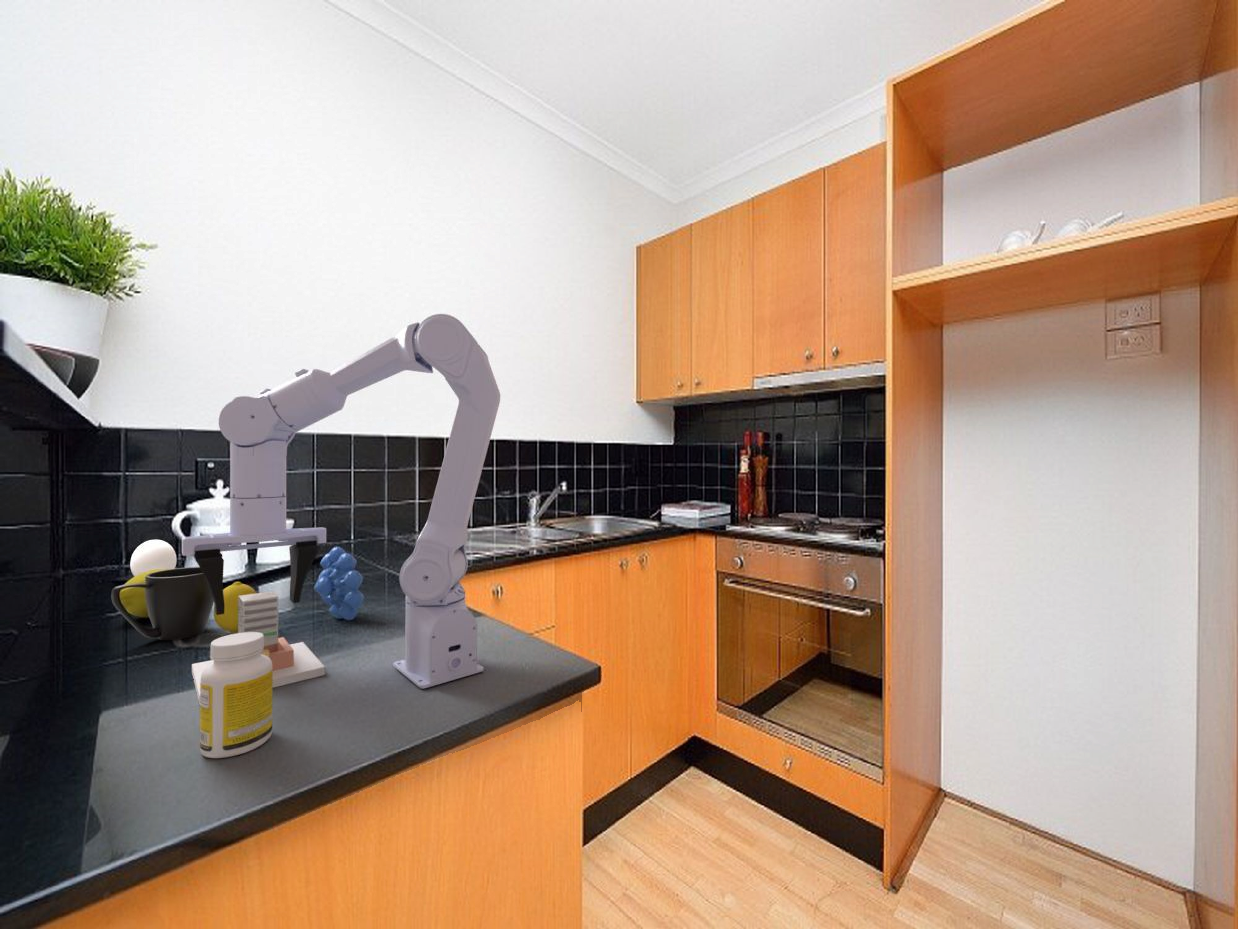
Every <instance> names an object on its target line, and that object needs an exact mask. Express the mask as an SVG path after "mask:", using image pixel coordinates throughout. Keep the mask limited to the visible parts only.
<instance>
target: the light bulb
mask: <svg viewBox="0 0 1238 929" xmlns="http://www.w3.org/2000/svg"><path fill="white" fill-rule="evenodd" d="M177 560H178V559H177V554H176V551H175V549H174V548H173V546H172V545H171V544H169V543H168V542H166V541H164V540H161V539H150V540H146V541H144V542H143V543H141V544H140V545H138V546H137V547H136V548H135V550H134V551H133V553H132V554H131V558H130V562H129V563H130V564H129V566H130V570H131V573H132V575H133V577H135V576H137V575H139V574H142V573H144V572H148V571H152V570H158V569H176V565H177Z"/></svg>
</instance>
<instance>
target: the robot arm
mask: <svg viewBox="0 0 1238 929" xmlns="http://www.w3.org/2000/svg"><path fill="white" fill-rule="evenodd" d="M433 368H434V369H435V370H436V371H438V373H440V374H441V375H442V376H443V377H444V380H445V381H446V383H447V384H448V385H449V388H451V390H452V391H453V392H454V394H455V395H456V397H457V399H458V403H457V407H456V411H455V415H454V418H453V421H452V426H451V430H450V433H449V437H448V440H447V445H446V449H445V451H444V452H445V453H444V457H443V461H442V464H441V468H440V470H439V476H438V479H437V484H436V486H435V489H434V494H433V497H432V501H431V506H430V510H429V513H428V517H427V520H426V523H425V525H424V527H423V528H422V530H421V532H420V534H419V536H418V538H417V540H416V543H415V547H414V549H413V552H412V553H411V554H410V556H409V557H408V558H407V559H406V560H405V561H404V563H403V564H402V566H401V568H400V571H399V577H398V578H399V579H398V580H399V584H400V588H401V590H402V592H403V594H404V595H405V609H404V610H405V614H404V615H405V616H404V617H405V624H404V626H405V627H404V631H405V633H404V635H405V636H404V637H405V638H404V641H405V642H404V644H405V645H404V648H405V649H404V650H405V651H404V654H405V655H404V658H405V659H400V660H397V661H395V662H393V664H392V665H393V667H394V668H395V669H396V670H397V671H399V672H400V673H401V674H402V675H403V676H405V677H406V678H408V680H410V681H411V682H412V683H413V684H414V685H416V687H418V688H420V689H427V688H431V687H434V686H438V685H441V684H445V683H448V682H450V681H455V680H458V679H461V678H464V677H468V676H472V675H475V674H478V673H482V672H483V671H484V666H483V665H481V664H479V663H478V624H477V620H476V618H475V615H474V614H473V613H472V612H471V611H470V610H469V608H468V607H467V605H466V604H467V603H466V590H465V589H464V587H463V585H462V583H461V580H462V579H464V577H465V575H466V573H467V570H468V566H469V565H468V564H469V563H468V557H467V552H466V548H467V543H468V538H469V537H468V536H469V535H468V526H469V520H470V517H471V513H472V509H473V506H474V502H475V498H476V494H477V491H478V486H479V483H480V479H481V476H482V472H483V471H482V470H483V467H484V463H485V460H486V456H487V453H488V448H489V445H490V441H491V438H492V437H491V436H492V434H493V433H492V432H493V430H494V425H495V423H496V422H495V421H496V418H497V414H498V412H499V411H498V410H499V407H500V403H501V392H500V390H499V387H498V384H497V380H496V378H495V375H494V372H493V371H492V366H491V364H490V361H489V356H488V355H487V353H486V352H485V350H484V349H483V348H482V347H481V345H480V343H478V341H477V340H476V338H475V337H474V335H472V333H471V332H470V331H469V330H468V328H467V327H466V326H465V324H464V323H463V322H461V321H460V320H459V319H458V318H456V317H455V316H452V315H450V314H447V313H446V314H445V313H436V314H433V315H430V316H428V317H426V318H425V319H424V320H422V321H421V323H420V322H418V321H417V322H415V323H411V324H409V325H407V326H405V327H404V328H403V329H402V330H401V331H400V332H398V333H397V334H396V335H394V336H393V337H392V336H391V338H389V339H387V340H385V341H384V342H381V343H380V344H378V345H376V346H374V347H373V348H371V349H369V350H367V351H366V352H363V353H362V354H361V355H359V356H357V357H355V358H353V359H352V360H350V361H348V362H346V363H344V364H342V365H341V366H339V367H338V368H336V369H334V370H333V371H330V372H329V371H325V370H322V369H317V368H313V369H312V370H308V369H306V368H302V369H300V370H298V371H296V372H295V373H294V375H295V376H296V377H294V378H292V379H291V380H289V381H287V382H285V383H283V384H281V385H278V386H277V387H274V388H272V389H270V388H265V389H263V390H261V391H260V392H259V394H260V395H259V396H258V397H253V396H250V395H249V396H247V395H243V396H242V395H241V396H236V397H234V398H232V400H231V401H229V402H228V403H227V404H226V405H225V406H224V407H223V408H222V409H221V411H220V413H219V417H218V427H219V430H220V432H221V434H222V436H223V437H224V438H225V439H227V441H229V452H230V453H229V454H230V455H229V456H230V457H229V461H230V462H229V465H230V466H229V467H230V469H229V470H230V472H229V473H230V474H229V488H230V489H229V490H230V491H229V493H230V495H229V504H230V505H229V506H230V507H229V510H230V511H229V514H230V515H229V532H226V533H225V532H224V533H215V534H205V535H194V536H182V537H181V555H182V556H183V557H186V556H193V559H194V560H195V562H196V564H197V565H198V567H200V568H201V570H202V572H203V574H204V576H205V578H206V580H207V582H208V585H209V587H210V590H211V593H212V596H213V600H214V602H213V606H214V605H215V612H216V615H220V614H224V608H225V605H224V595H223V590H224V565H225V560H224V558H223V553H222V552H231V551H233V552H234V551H241V550H242V551H243V550H253V549H254V550H255V549H265V548H275V547H285V546H287V547H288V546H289V559H290V582H289V584H290V585H289V601H290V602H292V603H293V604H296V603H300V600H301V595H302V591H303V587H304V583H305V581H306V577H307V575H308V573H309V570H310V569H311V566H312V565H313V563H314V560H315V559H316V557H317V556H318V553H319V551H320V548H319V545H318V544H326V543H327V528H326V527H320V526H319V527H303V528H302V527H301V528H287V456H288V446H289V444H290V442H292V440H293V439H294V437H295V436H296V434H297V432H299V431H302V430H304V429H306V428H309V426H312V425H314V424H315V423H317V422H319V421H322V420H324V419H325V418H328V417H330V416H332V415H334V414H336V413H338V412H340V411H342V410H343V408H344V407H345V404H346V402H347V397H348V396H349V395H351V394H354V393H356V392H360V391H361V390H363V389H365V388H368V387H370V386H372V385H374V384H377V383H379V382H381V381H384V380H386V379H388V378H391V377H393V376H395V375H397V374H400V373H402V372H404V371H410V372H411V371H412V372H419V373H426V374H434V370H433ZM273 541H274V542H273ZM246 543H250V544H246Z"/></svg>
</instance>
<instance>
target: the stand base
mask: <svg viewBox="0 0 1238 929" xmlns="http://www.w3.org/2000/svg"><path fill="white" fill-rule="evenodd" d="M263 648H264V649H263V651H262V652H261V654H262V655H265V656H267V657H269V658H270V659H271V661H272V668H273V688H277V687H280V686H281V687H282V686H285V685H289V684H294V683H298V682H301V681H305V680H310V679H314V678H318V677H322V676H325V673H326V667H325V665H324V664H323V663H322V662H321V660H320V659H319V658H318V657H317V656H316V655H315V654H314V652H313V651H311V650H310V648H309V647H308V646H307V645H306V644H305V642H304V641H301V642H296V643H291V644H289V643H288V641H287V640H286V639H285V637H284V636H281V637H278V643H277V644H272V645H267V646H264V647H263ZM212 663H214V660H212V659H210V660H206V661H202V662H201V661H200V662H196V663H192V664H191V675H192V678H193V679H194V680H193V683H194V687H195V692H197V693H196V697H197V702H198V701H199V702H198V705H200V680H201V674H202V672H203V671H204V669H205V668H206V667H208V666H209V665H211V664H212Z"/></svg>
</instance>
